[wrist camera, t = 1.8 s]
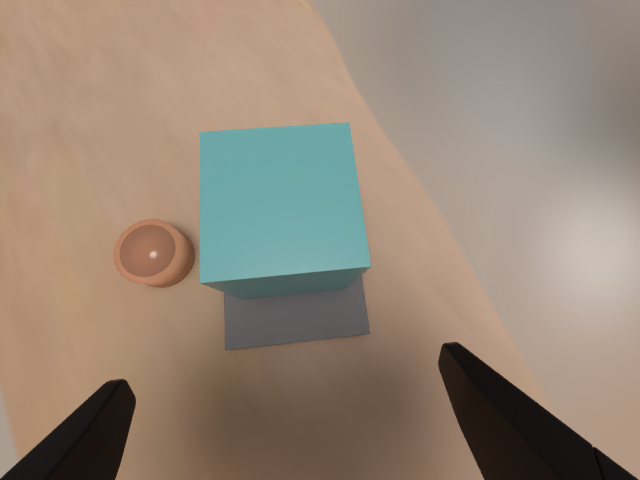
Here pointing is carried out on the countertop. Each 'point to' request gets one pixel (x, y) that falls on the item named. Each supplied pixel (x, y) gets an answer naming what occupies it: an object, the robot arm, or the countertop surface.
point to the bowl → (153, 254)
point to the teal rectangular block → (280, 211)
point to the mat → (295, 317)
